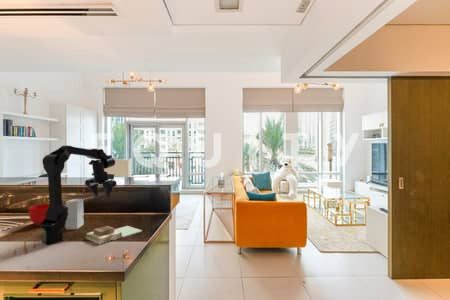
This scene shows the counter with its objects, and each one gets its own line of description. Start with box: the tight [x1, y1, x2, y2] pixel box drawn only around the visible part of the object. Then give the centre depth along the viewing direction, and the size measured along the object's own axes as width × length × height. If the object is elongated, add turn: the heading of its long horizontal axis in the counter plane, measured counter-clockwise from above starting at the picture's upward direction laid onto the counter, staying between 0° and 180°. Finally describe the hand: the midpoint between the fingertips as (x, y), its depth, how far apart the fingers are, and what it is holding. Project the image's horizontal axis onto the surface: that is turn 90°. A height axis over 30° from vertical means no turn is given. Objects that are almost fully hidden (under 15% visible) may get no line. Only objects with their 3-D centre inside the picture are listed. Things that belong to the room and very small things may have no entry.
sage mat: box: [114, 225, 143, 238], centre depth 132 cm, size 11×13×1 cm
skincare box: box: [65, 198, 85, 230], centre depth 138 cm, size 8×6×15 cm
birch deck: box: [85, 230, 123, 245], centre depth 122 cm, size 11×12×2 cm
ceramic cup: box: [28, 203, 50, 227], centre depth 145 cm, size 13×17×10 cm
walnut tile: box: [92, 225, 115, 236], centre depth 122 cm, size 7×6×2 cm
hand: (102, 197), depth 146 cm, fingers open, 9 cm apart
